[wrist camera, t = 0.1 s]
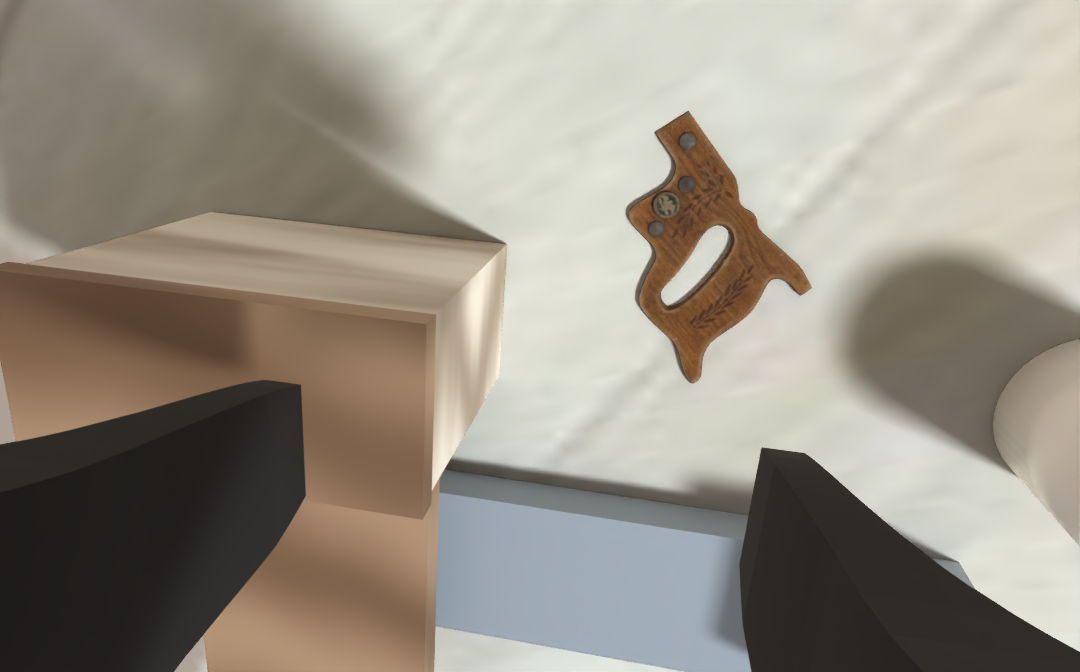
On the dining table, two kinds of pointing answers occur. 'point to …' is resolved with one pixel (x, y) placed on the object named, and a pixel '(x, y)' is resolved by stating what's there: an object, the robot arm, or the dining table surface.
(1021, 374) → the white rounded cylinder
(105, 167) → the dining table surface
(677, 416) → the dining table surface
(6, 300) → the plinth shelf
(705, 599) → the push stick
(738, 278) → the hand saw
